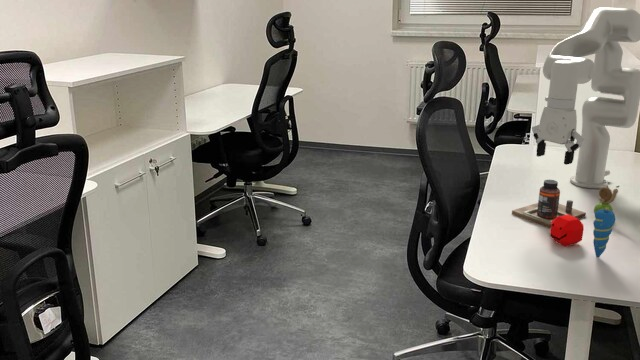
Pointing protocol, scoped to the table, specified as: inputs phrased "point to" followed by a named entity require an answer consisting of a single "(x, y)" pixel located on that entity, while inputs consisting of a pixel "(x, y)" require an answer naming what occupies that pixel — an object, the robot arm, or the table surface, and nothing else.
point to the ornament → (602, 229)
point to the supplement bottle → (548, 200)
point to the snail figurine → (606, 198)
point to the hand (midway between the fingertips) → (553, 159)
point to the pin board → (532, 216)
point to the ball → (566, 230)
